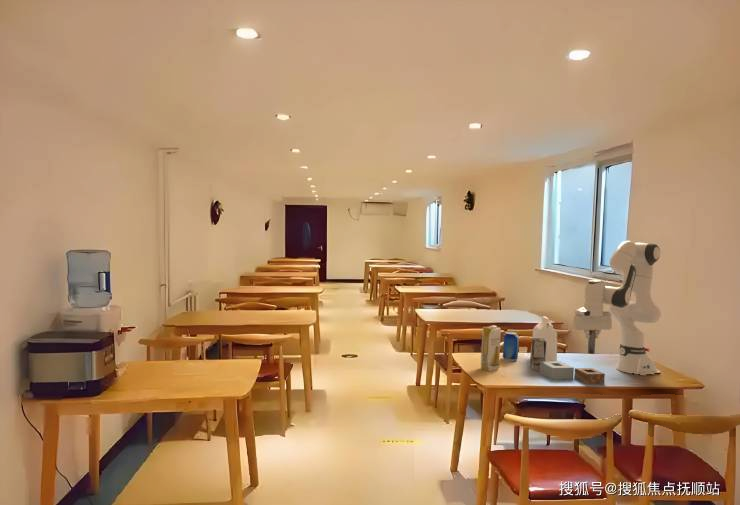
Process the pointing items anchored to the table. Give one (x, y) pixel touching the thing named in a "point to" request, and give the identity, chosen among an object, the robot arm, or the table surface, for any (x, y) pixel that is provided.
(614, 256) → the robot arm
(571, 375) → the socket
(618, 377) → the table surface
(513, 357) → the beer can
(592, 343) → the pin
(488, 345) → the juice carton
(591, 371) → the block
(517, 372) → the table surface
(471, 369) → the table surface
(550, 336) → the milk
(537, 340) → the coffee box
